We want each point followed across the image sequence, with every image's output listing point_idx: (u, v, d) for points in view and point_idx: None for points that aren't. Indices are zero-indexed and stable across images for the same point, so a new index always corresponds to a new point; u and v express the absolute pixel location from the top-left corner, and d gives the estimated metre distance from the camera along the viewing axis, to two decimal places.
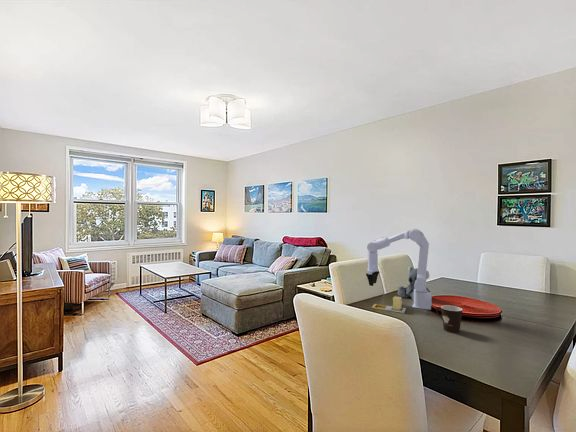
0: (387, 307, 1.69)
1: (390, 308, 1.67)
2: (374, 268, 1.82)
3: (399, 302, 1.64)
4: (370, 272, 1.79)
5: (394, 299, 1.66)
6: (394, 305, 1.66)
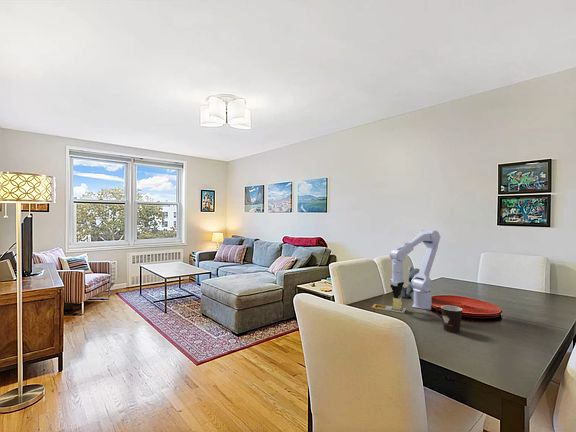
0: (387, 307, 1.69)
1: (390, 308, 1.67)
2: (399, 279, 1.64)
3: (399, 302, 1.64)
4: (395, 283, 1.60)
5: (394, 299, 1.66)
6: (394, 305, 1.66)
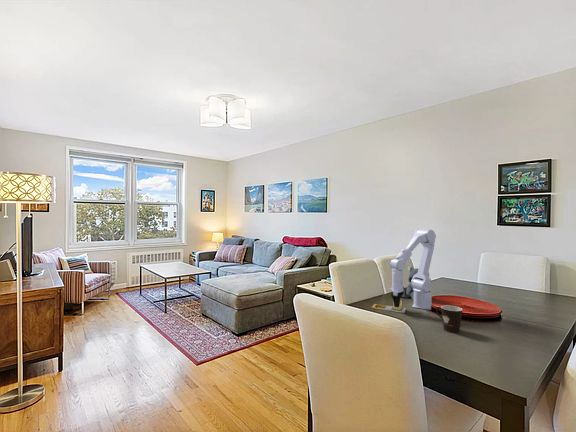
0: (387, 307, 1.69)
1: (390, 308, 1.67)
2: (399, 288, 1.64)
3: None
4: (395, 293, 1.60)
5: None
6: None
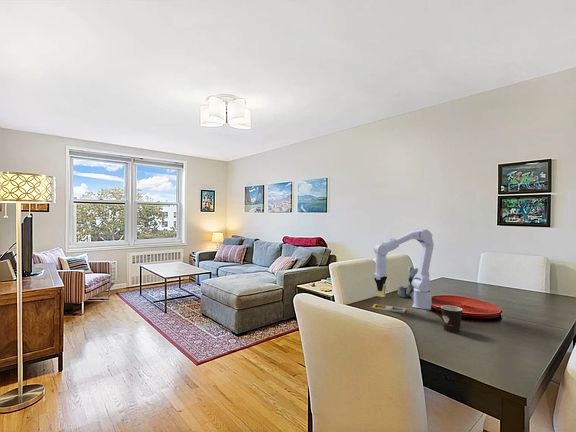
0: (387, 307, 1.69)
1: (390, 308, 1.67)
2: (382, 273, 1.68)
3: (383, 287, 1.68)
4: (378, 277, 1.64)
5: None
6: None
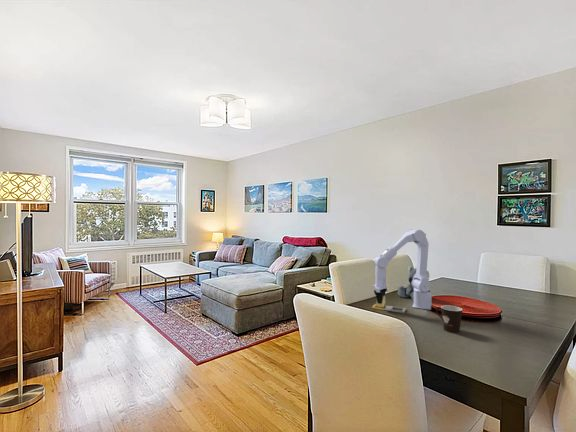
0: (387, 307, 1.69)
1: (390, 308, 1.67)
2: (382, 285, 1.68)
3: (382, 300, 1.69)
4: (378, 290, 1.65)
5: None
6: (377, 303, 1.70)
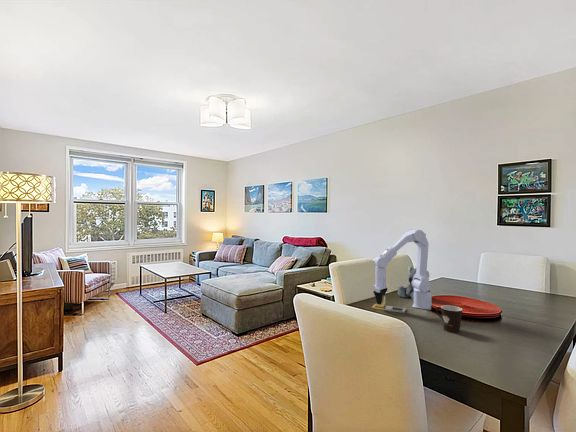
0: (387, 307, 1.69)
1: (390, 308, 1.67)
2: (382, 285, 1.68)
3: (382, 300, 1.69)
4: (378, 290, 1.65)
5: None
6: None
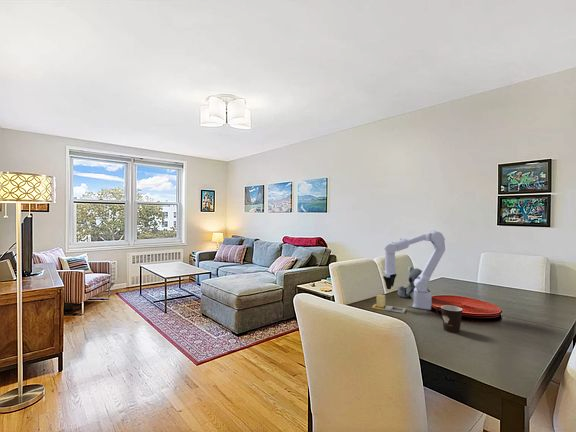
0: (387, 307, 1.69)
1: (390, 308, 1.67)
2: (392, 271, 1.74)
3: (382, 300, 1.69)
4: (388, 275, 1.71)
5: (377, 297, 1.70)
6: (377, 303, 1.70)
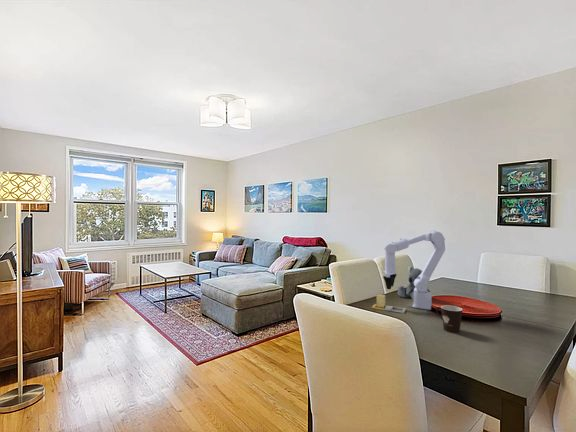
0: (387, 307, 1.69)
1: (390, 308, 1.67)
2: (392, 271, 1.74)
3: (382, 300, 1.69)
4: (388, 275, 1.71)
5: (377, 297, 1.70)
6: (377, 303, 1.70)
